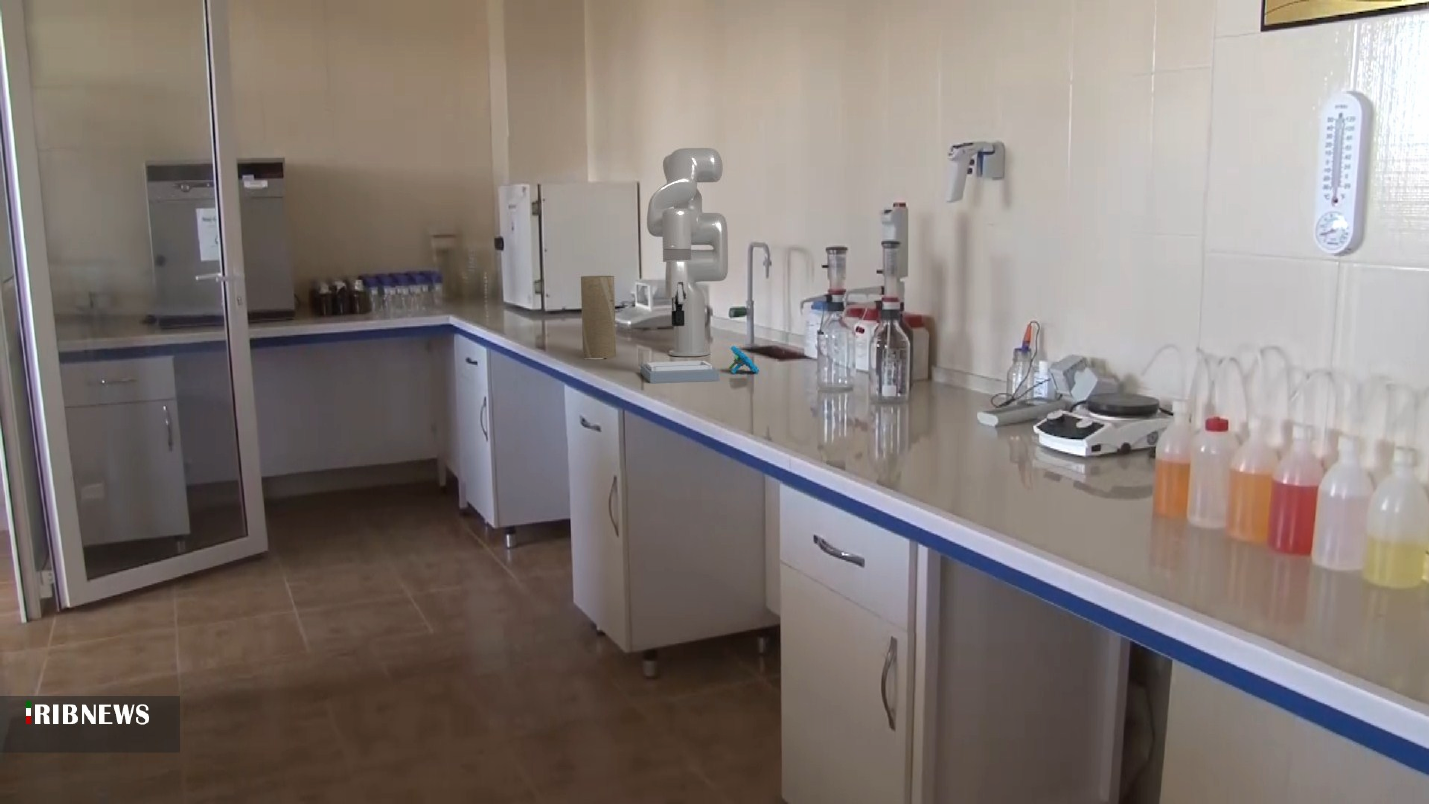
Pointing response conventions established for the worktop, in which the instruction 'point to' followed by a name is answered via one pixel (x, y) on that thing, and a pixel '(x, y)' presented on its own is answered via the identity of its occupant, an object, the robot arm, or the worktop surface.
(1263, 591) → the worktop surface
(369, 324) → the worktop surface
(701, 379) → the plate
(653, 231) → the robot arm
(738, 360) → the blue cogwheel with peg
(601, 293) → the tube
